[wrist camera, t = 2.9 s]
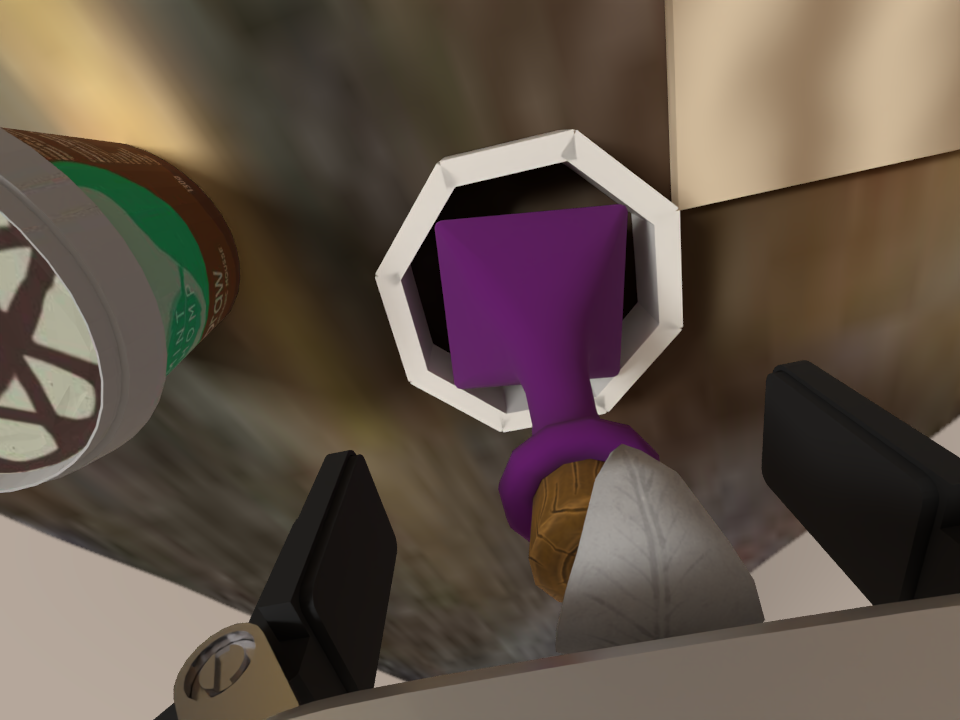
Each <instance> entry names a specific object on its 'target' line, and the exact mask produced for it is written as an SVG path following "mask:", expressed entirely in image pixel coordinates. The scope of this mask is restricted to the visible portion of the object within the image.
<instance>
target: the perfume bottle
mask: <svg viewBox="0 0 960 720" xmlns="http://www.w3.org/2000/svg"><path fill="white" fill-rule="evenodd" d="M627 216H628V210H627V208H626V206H625V205H622V204H616V205H605V206H594V207H583V208H572V209H561V210H550V211H539V212H528V213H517V214H506V215H496V216H485V217H474V218H463V219H452V220H441V221H439V222H437V223H436V225H435V235H436V243H437V251H438V259H439V267H440V275H441V283H442V290H443V298H444V306H445V314H446V322H447V330H448V338H449V346H450V354H451V362H452V369H453V377H454V384H455V386H456V387H457V388H458V389H473V388H486V387H498V386H510V385H522V387H523V389H524V391H525V394H526V398H527V403H528V408H529V412H530V417H531V422H532V436H531V437H530V438H529V439H528V440H526V441H525V442H524V443H522V444H521V445H520V446H518V447H517V448H516V449H514V450H513V452H512V454H511V456H510V459H509V461H508V463H507V466H506V468H505V470H504V473H503V475H502V477H501V480H500V482H499V488H498V490H499V493H500V497H501V500H502V504H503V507H504V511H505V514H506V518H507V521H508V523H509V525H510V527H511V528H512V529H513V530H514V531H516V532H517V533H518V534H520V535H521V536H522V537H524V538H525V539H526V540H528V541H529V542H530V547H529V561H530V565H531V569H532V573H533V576H534V580H535V584H536V585H537V586H538V587H539V588H541V589H542V590H544V591H545V592H546V593H548V594H549V595H550V596H552V597H553V598H554V599H556V600H557V601H559V602H563V603H562V607H561V612H560V616H559V620H558V624H557V629H556V652H559V653H561V654H572V653H578V652H584V651H590V650H597V649H603V648H609V647H615V646H621V645H627V644H633V643H639V642H646V641H652V640H658V639H664V638H670V637H677V636H683V635H689V634H695V633H701V632H708V631H714V630H720V629H726V628H732V627H739V626H745V625H752V624H758V623H763V622H764V620H765V619H764V615H763V612H762V608H761V604H760V601H759V597H758V593H757V589H756V586H755V582H754V580H753V578H752V576H751V575H750V573H749V572H748V570H747V569H746V567H745V566H744V564H743V563H742V561H741V559H740V558H739V556H738V555H737V553H736V552H735V550H734V549H733V547H732V545H731V544H730V542H729V541H728V540H727V538H726V537H725V536H724V534H723V533H722V532H721V530H720V529H719V528H718V526H717V525H716V524H715V522H714V521H713V520H712V518H711V517H710V516H709V514H708V513H707V512H706V510H705V509H704V508H703V506H702V505H701V504H700V502H699V501H698V500H697V498H696V497H695V495H694V494H693V493H692V491H691V490H690V489H689V487H688V486H687V485H686V483H685V482H684V481H683V479H682V478H681V477H680V475H679V474H678V473H677V472H676V471H674V470H672V469H671V468H669V467H667V466H666V465H664V464H662V463H661V462H660V460H659V455H658V454H657V452H656V451H655V450H654V449H653V448H652V447H651V446H650V445H649V444H648V443H647V442H646V441H645V440H644V439H643V438H642V437H641V436H640V435H639V434H638V433H636V432H635V431H634V430H633V429H632V428H631V427H630V426H629V425H625V424H621V423H616V422H612V421H608V420H604V419H600V417H599V415H598V413H597V410H596V406H595V401H594V396H593V392H592V387H591V383H590V379H596V378H608V377H615V376H617V375H618V374H619V372H620V359H621V338H622V318H623V298H624V277H625V257H626V236H627Z"/></svg>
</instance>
